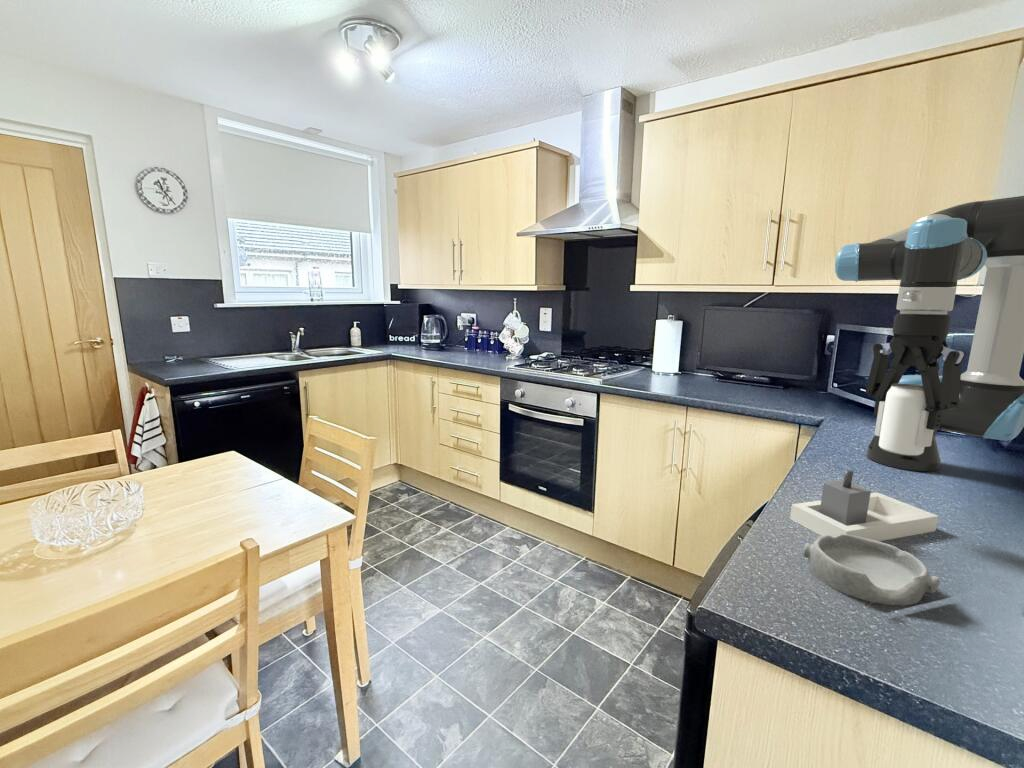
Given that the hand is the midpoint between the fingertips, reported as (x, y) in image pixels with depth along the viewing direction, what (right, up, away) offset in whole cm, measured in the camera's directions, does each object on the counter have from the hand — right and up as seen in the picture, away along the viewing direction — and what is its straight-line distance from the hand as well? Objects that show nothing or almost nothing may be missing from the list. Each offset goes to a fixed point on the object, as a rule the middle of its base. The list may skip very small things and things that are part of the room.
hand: (901, 440), depth 87 cm
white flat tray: (-6, -17, +2) cm, 18 cm away
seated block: (-11, -16, +1) cm, 19 cm away
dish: (-18, -20, -15) cm, 31 cm away
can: (0, -2, 0) cm, 2 cm away
